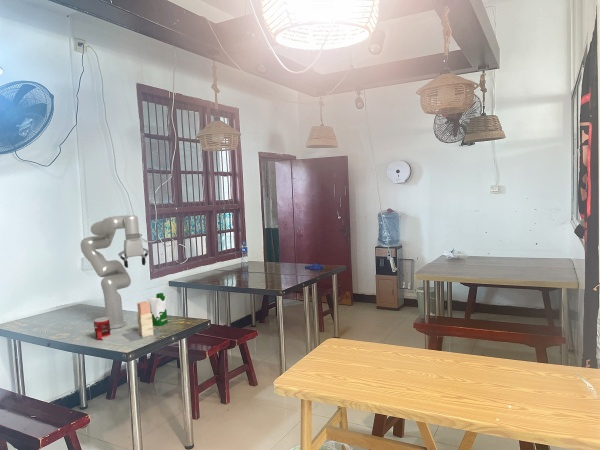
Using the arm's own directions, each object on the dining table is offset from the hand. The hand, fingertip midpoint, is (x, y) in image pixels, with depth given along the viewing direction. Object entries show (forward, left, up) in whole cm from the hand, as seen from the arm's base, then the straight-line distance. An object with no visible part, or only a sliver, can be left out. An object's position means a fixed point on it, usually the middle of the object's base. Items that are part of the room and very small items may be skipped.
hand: (135, 266), depth 251 cm
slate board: (+12, -4, -38) cm, 40 cm away
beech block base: (+15, -2, -37) cm, 40 cm away
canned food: (-4, -20, -38) cm, 44 cm away
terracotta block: (+15, -2, -25) cm, 29 cm away
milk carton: (0, +11, -38) cm, 40 cm away
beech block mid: (+15, -2, -31) cm, 34 cm away
